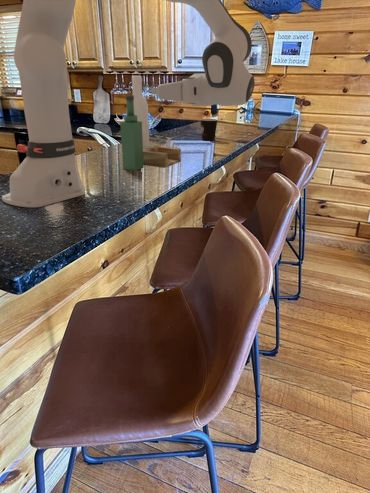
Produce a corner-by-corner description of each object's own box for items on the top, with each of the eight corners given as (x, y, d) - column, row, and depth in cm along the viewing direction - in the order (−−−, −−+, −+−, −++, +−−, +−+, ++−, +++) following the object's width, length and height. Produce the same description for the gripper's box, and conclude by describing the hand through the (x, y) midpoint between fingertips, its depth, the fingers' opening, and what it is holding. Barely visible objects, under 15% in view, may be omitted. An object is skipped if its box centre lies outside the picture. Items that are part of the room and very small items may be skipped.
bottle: (146, 158, 144) (143, 75, 131) (127, 157, 146) (123, 75, 133) (152, 154, 151) (149, 75, 138) (134, 153, 153) (130, 75, 140)
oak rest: (164, 167, 130) (164, 153, 128) (139, 164, 134) (138, 150, 132) (180, 161, 139) (180, 148, 137) (156, 158, 144) (156, 145, 142)
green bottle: (135, 170, 126) (131, 96, 115) (123, 169, 128) (118, 95, 118) (143, 167, 130) (140, 95, 120) (131, 166, 132) (127, 94, 122)
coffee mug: (217, 141, 182) (218, 120, 177) (200, 141, 182) (200, 120, 178) (215, 138, 192) (216, 118, 188) (199, 137, 192) (200, 118, 188)
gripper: (213, 77, 114) (175, 77, 120) (184, 79, 98) (141, 80, 104) (213, 98, 117) (175, 98, 123) (185, 104, 101) (143, 103, 107)
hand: (160, 90), depth 113 cm, fingers open, 8 cm apart
